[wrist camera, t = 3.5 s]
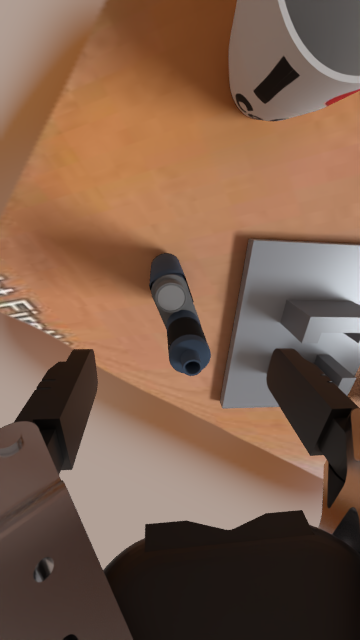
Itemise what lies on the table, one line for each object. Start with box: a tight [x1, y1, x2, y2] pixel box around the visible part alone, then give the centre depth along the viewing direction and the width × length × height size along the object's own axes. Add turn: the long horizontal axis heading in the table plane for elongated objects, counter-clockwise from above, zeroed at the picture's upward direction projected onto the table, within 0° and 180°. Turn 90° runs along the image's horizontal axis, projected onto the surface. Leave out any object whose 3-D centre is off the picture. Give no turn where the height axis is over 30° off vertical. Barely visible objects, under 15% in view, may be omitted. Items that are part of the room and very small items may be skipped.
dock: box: [220, 239, 360, 408], centre depth 24 cm, size 20×16×5 cm
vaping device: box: [149, 253, 211, 376], centre depth 17 cm, size 3×5×12 cm, turn 19°
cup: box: [229, 0, 360, 121], centre depth 12 cm, size 8×8×10 cm
